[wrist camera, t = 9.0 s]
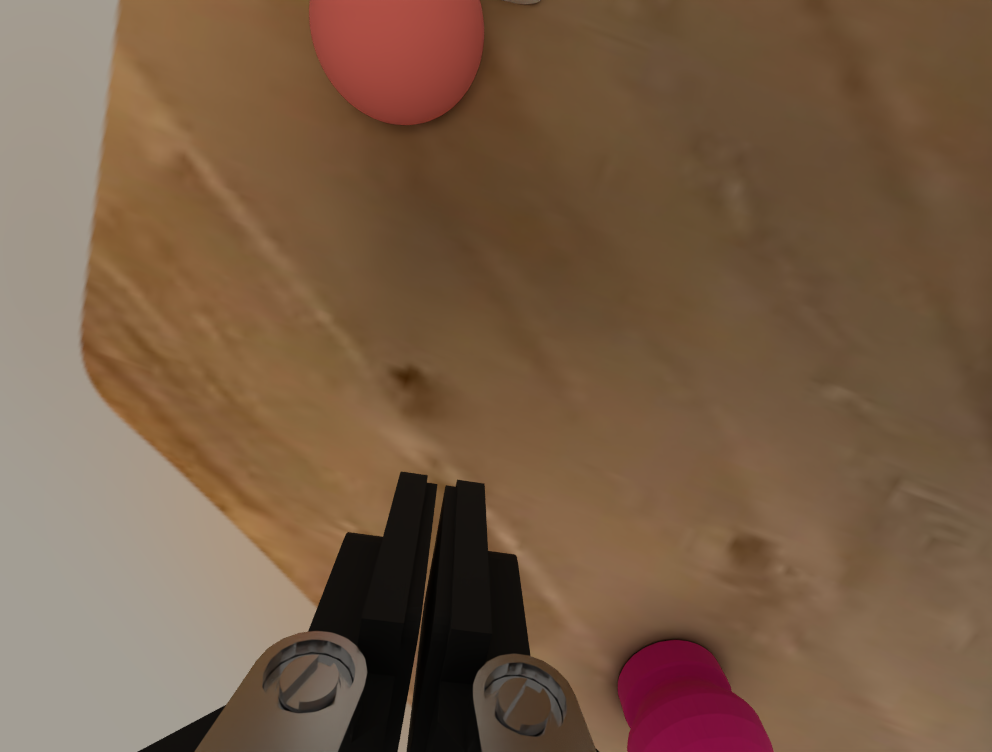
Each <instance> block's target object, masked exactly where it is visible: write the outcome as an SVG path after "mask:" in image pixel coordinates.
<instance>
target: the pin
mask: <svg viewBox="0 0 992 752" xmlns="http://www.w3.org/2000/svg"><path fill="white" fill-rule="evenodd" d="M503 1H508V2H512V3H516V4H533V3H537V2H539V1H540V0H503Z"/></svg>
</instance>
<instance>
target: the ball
mask: <svg viewBox="0 0 992 752" xmlns="http://www.w3.org/2000/svg"><path fill="white" fill-rule="evenodd" d="M309 20H310V30H311V35H312V40H313V44H314V47H315V51H316V54H317V57H318V59H319V61H320V63H321V66H322V68H323V70H324V72H325V73H326V75H327V77H328V78H329V80H330V82H331V83H332V84H333V86H334V87H335V88H336V89H337V91H338V92H339V93H340V94H341V95H342V96H343V97H344V98H345V99H346V100H347V101H348V102H349V103H350V104H351V105H353V106H354V107H355V108H357V109H358V110H359V111H361V112H363V113H364V114H366V115H368V116H370V117H372V118H374V119H377V120H379V121H382V122H385V123H389V124H396V125H415V124H420V123H425V122H428V121H431V120H433V119H435V118H437V117H439V116H441V115H443V114H445V113H446V112H447V111H449V110H450V109H451V108H453V107H454V106H455V105H456V104H457V103H458V102H459V101H460V100H461V99H462V97H463V96H464V95H465V93H466V92H467V90H468V89H469V88H470V86H471V84H472V82H473V80H474V78H475V76H476V73H477V70H478V68H479V65H480V61H481V57H482V52H483V43H484V21H483V14H482V7H481V3H480V0H310V5H309Z"/></svg>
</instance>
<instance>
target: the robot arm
mask: <svg viewBox="0 0 992 752" xmlns="http://www.w3.org/2000/svg"><path fill="white" fill-rule="evenodd" d="M427 477H428V475H421V474H415V473H408V472H400V476H399V480H398V483H397V487H396V491H395V495H394V498H393V502H392V506H391V510H390V513H389V517H388V521H387V524H386V528H385V532H384V536H383V537H380V536H373V535H365V534H358V533H350V532H348V533H347V534H346V536H345V538H344V540H343V543H342V545H341V548H340V551H339V553H338V556H337V558H336V561H335V564H334V566H333V569H332V571H331V574H330V576H329V579H328V582H327V584H326V587H325V589H324V592H323V595H322V597H321V600H320V602H319V605H318V608H317V610H316V613H315V615H314V618H313V621H312V623H311V626H310V628H309V631H308V632H303V633H298V634H295V635H292V636H289V637H286V638H284V639H282V640H280V641H279V642H277V643H275V644H274V645H272V646H271V647H269V648H268V649H267V650H266V651H265V652H264V653H263V654H262V655H261V656H260V658H259V659H258V660H257V661H256V662H255V664H254V665H253V667H252V668H251V670H250V671H249V673H248V674H247V675H246V677H245V678H244V680H243V681H242V683H241V684H240V686H239V687H238V689H237V690H236V692H235V693H234V695H233V696H232V697H231V699H230V700H229V702H228V703H227V705H225V706H223V707H221V708H219V709H217V710H215V711H214V712H212V713H210V714H208V715H206V716H204V717H202V718H200V719H199V720H197V721H195V722H193V723H191V724H189V725H187V726H186V727H183V728H182V729H180V730H178V731H176V732H174V733H172V734H170V735H168V736H166V737H165V738H163V739H161V740H159V741H157V742H155V743H153V744H151V745H149V746H148V747H146V748H144V749H142V750H140V751H138V752H397V751H398V745H399V740H400V734H401V729H402V724H403V718H404V712H405V707H406V702H407V696H408V690H409V685H410V679H411V674H412V668H413V663H414V657H415V652H416V646H417V640H418V634H419V628H420V621H421V614H422V606H423V598H424V590H425V582H426V573H427V565H428V557H429V549H430V540H431V532H432V524H433V516H434V508H435V499H436V491H437V484H433V483H427ZM407 752H599V751H598V750H597V749H596V748H595V746H594V743H593V741H592V738H591V736H590V733H589V730H588V728H587V725H586V722H585V720H584V717H583V714H582V712H581V709H580V706H579V704H578V701H577V698H576V696H575V694H574V692H573V690H572V688H571V687H570V685H569V683H568V681H567V680H566V679H565V678H564V677H563V676H562V675H561V674H560V673H559V672H558V671H557V670H556V669H555V668H553V667H552V666H550V665H549V664H547V663H546V662H544V661H542V660H539V659H537V658H534V657H531V656H530V649H529V642H528V634H527V627H526V620H525V612H524V605H523V597H522V590H521V583H520V575H519V568H518V561H517V557H516V555H514V554H507V553H499V552H492V551H488V542H487V523H486V504H485V486H484V484H483V483H476V482H469V481H462V480H457V483H456V487H453V486H447V485H446V487H445V492H444V497H443V503H442V508H441V514H440V519H439V525H438V530H437V536H436V541H435V547H434V553H433V558H432V564H431V569H430V575H429V580H428V586H427V591H426V597H425V603H424V610H423V617H422V625H421V634H420V642H419V651H418V659H417V668H416V676H415V685H414V693H413V702H412V710H411V719H410V728H409V735H408V745H407Z"/></svg>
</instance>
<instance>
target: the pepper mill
mask: <svg viewBox="0 0 992 752" xmlns="http://www.w3.org/2000/svg"><path fill="white" fill-rule="evenodd" d="M618 695H619V699H620V702H621V705H622V708H623V712H624V715H625V718H626V721H627V723H628V725H629V727H630V728H631V730H630V732H629V737H628V746H627V751H628V752H774V751H773V748H772V745H771V742H770V739H769V737H768V735H767V733H766V731H765V729H764V727H763V725H762V723H761V721H760V719H759V717H758V715H757V714H756V712H755V711H754V710H753V708H752V707H751V706H750V705H749V704H748V703H747V702H746V701H744V700H743V699H742V698H740V697H739V696H737V695H736V694H735V693H733V692H732V691H731V687H730V684H729V682H728V680H727V678H726V676H725V674H724V673H723V671H722V669H721V667H720V665H719V664H718V662H717V660H716V659H715V657H714V656H713V655H712V654H711V653H710V652H709V651H708V650H707V649H705V648H703V647H702V646H700V645H698V644H695V643H692V642H689V641H682V640H669V641H662V642H657V643H655V644H652V645H650V646H647V647H645V648H643V649H642V650H640V651H639V652H637V653H636V654H634V655H633V656H632V657H631V659H630V660H629V661H628V662H627V663H626V664H625V666H624V668H623V670H622V672H621V673H620V676H619V680H618Z"/></svg>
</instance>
